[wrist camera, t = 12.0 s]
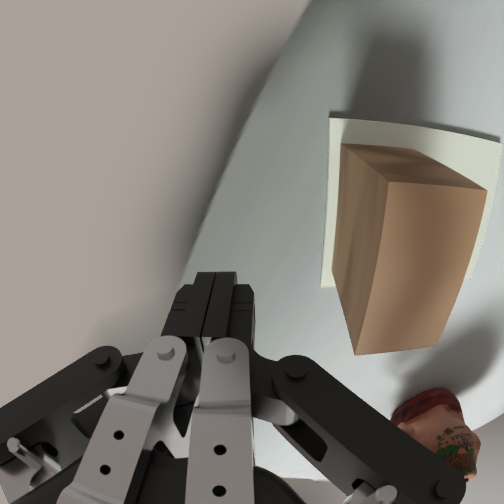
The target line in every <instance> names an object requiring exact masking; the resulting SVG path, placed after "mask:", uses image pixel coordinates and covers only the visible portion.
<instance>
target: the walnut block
mask: <svg viewBox="0 0 504 504" xmlns="http://www.w3.org/2000/svg"><path fill="white" fill-rule="evenodd" d="M487 192H488V190H486V189H485V188H483V187H481V186H480V185H478V184H476V183H475V182H473V181H472V180H470V179H468V178H467V177H465V176H463V175H461V174H460V173H458V172H456V171H454V170H453V169H451V168H449V167H447V166H445V165H444V164H442V163H440V162H438V161H436V160H434V159H432V158H430V157H428V156H427V155H425V154H423V153H421V152H419V151H417V150H414V149H409V148H400V147H389V146H377V145H363V144H345V143H340V167H339V187H338V203H337V216H336V229H335V240H334V250H333V260H332V269H331V271H332V274H333V277H334V281H335V284H336V288H337V291H338V295H339V298H340V302H341V305H342V309H343V312H344V316H345V320H346V324H347V327H348V331H349V335H350V339H351V343H352V347H353V351H354V355H365V354H376V353H386V352H395V351H403V350H411V349H418V348H425V347H432V346H436V344H437V342H438V340H439V338H440V336H441V334H442V332H443V329H444V327H445V325H446V323H447V320H448V318H449V316H450V313H451V311H452V308H453V306H454V304H455V301H456V298H457V296H458V293H459V291H460V288H461V285H462V282H463V280H464V277H465V274H466V271H467V268H468V265H469V262H470V259H471V256H472V252H473V249H474V246H475V242H476V239H477V235H478V231H479V227H480V223H481V219H482V215H483V211H484V207H485V202H486V197H487Z"/></svg>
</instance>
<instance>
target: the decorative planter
mask: <svg viewBox="0 0 504 504" xmlns="http://www.w3.org/2000/svg"><path fill="white" fill-rule="evenodd" d="M390 421H391V422H392V423H394V424H395V425H396V426H398V427H399V428H400V429H402V430H403V431H404V432H406V433H407V434H408V435H410V436H411V437H412V438H414V439H415V440H417V441H418V442H419V443H421V444H422V445H424V446H425V447H426V448H428V449H429V450H431V451H432V452H433V453H435V454H436V455H438V456H439V457H440V458H442V459H443V460H445V461H446V462H448V463H449V464H451V465H452V466H453V467H455V468H456V469H458V470H459V471H460V472H461V473H462V474H463V476H464V478H465V482H466V483H467V482H469V481H470V480H472V479H473V478H474V477H475V476H476V473H477V470H476V461H477V456H478V453H479V449H480V445H481V443H480V440H479V438H478V436H477V435H476V434H475V433H474V432H472V431H471V430H470V429H469V427H468V426H467V425H465V422H464V418H463V414H462V410H461V406H460V403H459V401H458V399H457V398H456V396H455V395H454V394H453V393H452V392H450V391H449V390H446V389H432V390H428V391H425V392H423V393H421V394H419V395H418V396H416V397H415V398H413V399H411V400H410V401H408V402H407V403H405V404H404V405H403V406H402V407H400V408H399V409H398V410H397V411H396V412H395V413H394V414H393V416H392V417H391V419H390Z"/></svg>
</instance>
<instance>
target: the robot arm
mask: <svg viewBox="0 0 504 504" xmlns="http://www.w3.org/2000/svg"><path fill="white" fill-rule="evenodd" d="M254 339H255V304H254V292H253V290H252V289H251V287H250V285H249V284H237V274H236V272H198V273H197V275H196V278H195V281H194V284H193V285H191V284H185V285H184V286H183V287H182V288H181V289H180V290H179V291H178V292H177V293H176V296H175V299H174V301H173V304H172V306H171V311H170V312H169V314H168V317H167V320H166V323H165V325H164V328H163V331H162V333H161V336H160V337H158V338H156V339H154V340H153V341H151V342H150V343H149V344H148V345H147V347H146V348H145V351H144V352H142V353H138V354H132V355H126V356H122V355H121V353H120V351H119V350H118V349H117V348H115V347H112V346H102V347H99V348H96V349H94V350H93V351H91V352H89V353H88V354H86V355H85V356H83V357H81V358H80V359H78V360H77V361H75V362H73V363H72V364H70V365H69V366H67V367H65V368H64V369H62V370H61V371H59V372H57V373H56V374H54V375H53V376H51V377H49V378H48V379H46V380H45V381H43V382H41V383H40V384H38V385H37V386H35V387H33V388H32V389H30V390H28V391H27V392H25V393H24V394H22V395H21V396H19V397H17V398H16V399H14V400H12V401H11V402H9V403H8V404H6V405H4V406H3V407H1V408H0V484H1V487H2V489H3V492H4V494H5V496H6V498H7V501H8V503H9V504H306V503H305V502H304V501H303V499H301V497H299V495H298V494H297V493H296V492H295V491H294V490H293V489H292V488H291V487H290V486H289V485H288V484H287V483H286V482H285V481H284V480H283V479H281V478H280V477H279V476H277V475H276V474H274V473H272V472H270V471H268V470H266V469H264V468H261V467H258V466H256V459H255V443H254V422H253V417H255V418H258V419H261V420H264V421H268V422H271V423H272V424H273V426H274V427H275V428H276V429H277V430H278V431H279V432H280V434H281V435H282V436H283V437H284V438H285V439H286V440H287V441H288V442H289V443H290V444H291V445H292V446H293V447H294V448H296V449H297V450H298V451H299V452H300V453H301V454H302V455H303V456H304V457H305V458H306V459H307V460H308V461H309V462H310V463H311V464H312V465H313V466H314V467H315V468H317V469H318V470H319V471H320V472H321V473H322V474H323V475H324V476H325V477H326V478H328V479H329V480H330V481H331V482H332V483H333V484H334V485H335V486H337V487H338V488H339V489H340V490H342V492H344V493H345V494H346V495H347V496H348V497H347V498H346V499H345V501H344V503H343V504H460V502H461V501H462V499H463V497H464V494H465V491H466V482H465V478H464V476H463V474H462V473H461V472H460V471H459V470H458V469H456V468H455V467H453V466H452V465H451V464H449V463H448V462H446V461H445V460H443V459H442V458H440V457H439V456H438V455H436V454H435V453H433V452H432V451H431V450H429V449H428V448H426V447H425V446H424V445H422V444H421V443H419V442H418V441H417V440H415V439H414V438H412V437H411V436H410V435H408V434H407V433H406V432H404V431H403V430H402V429H400V428H399V427H398V426H396V425H395V424H394V423H392V422H391V421H390V420H388V419H387V418H386V417H384V416H383V415H382V414H380V413H379V412H378V411H376V410H375V409H374V408H372V407H371V406H370V405H368V404H367V403H366V402H365V401H363V400H362V399H361V398H359V397H358V396H357V395H356V394H354V393H353V392H352V391H351V390H349V389H348V388H347V387H345V386H344V385H343V384H342V383H340V382H339V381H338V380H337V379H335V378H334V377H333V376H332V375H330V374H329V373H328V372H327V371H325V370H324V369H323V368H322V367H320V366H319V365H318V364H317V363H316V362H314V361H313V360H312V359H310V358H308V357H305V356H301V355H290V356H286V357H284V358H282V359H280V360H279V361H273V360H269V359H266V358H264V357H262V356H260V355H259V354H257V353H256V352H255V350H254ZM99 395H102V396H103V397H102V398H101V399H99V400H98V401H96V402H95V403H93V404H92V405H90V406H89V407H87V408H86V409H84V410H82V411H81V412H79V413H73V412H75V411H76V410H78V409H79V408H81V407H82V406H84V405H85V404H87V403H89V402H90V401H92V400H93V399H94V398H96V397H98V396H99ZM189 440H190V443H189ZM65 467H66V468H65ZM63 468H64V469H63ZM62 469H63V470H62Z"/></svg>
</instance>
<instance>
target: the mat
mask: <svg viewBox="0 0 504 504" xmlns="http://www.w3.org/2000/svg"><path fill="white" fill-rule="evenodd" d="M340 143H345V144H363V145H377V146H389V147H400V148H409V149H414V150H417V151H419V152H421V153H423V154H425V155H427V156H428V157H430V158H432V159H434V160H436V161H438V162H440V163H442V164H444V165H445V166H447V167H449V168H451V169H453V170H454V171H456V172H458V173H460V174H461V175H463V176H465V177H467V178H468V179H470V180H472V181H473V182H475V183H476V184H478V185H480V186H481V187H483V188H485V189H486V190H488V192H487V197H486V202H485V207H484V211H483V215H482V219H481V223H480V227H479V231H478V235H477V239H476V242H475V246H474V249H473V252H472V256H471V259H470V262H469V265H468V268H467V271H466V274H465V277H464V280H471V277H472V274H473V271H474V268H475V265H476V262H477V259H478V256H479V253H480V250H481V246H482V243H483V240H484V236H485V232H486V229H487V225H488V221H489V217H490V213H491V209H492V204H493V200H494V195H495V190H496V184H497V179H498V173H499V167H500V160H501V152H502V144H501V143H499V142H495V141H491V140H487V139H483V138H479V137H474V136H470V135H465V134H460V133H455V132H450V131H445V130H439V129H433V128H427V127H421V126H414V125H407V124H399V123H391V122H382V121H371V120H360V119H345V118H329V126H328V172H327V196H326V214H325V230H324V243H323V256H322V267H321V278H320V287H336V284H335V281H334V277H333V274H332V271H331V269H332V260H333V250H334V240H335V229H336V216H337V203H338V187H339V167H340Z"/></svg>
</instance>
